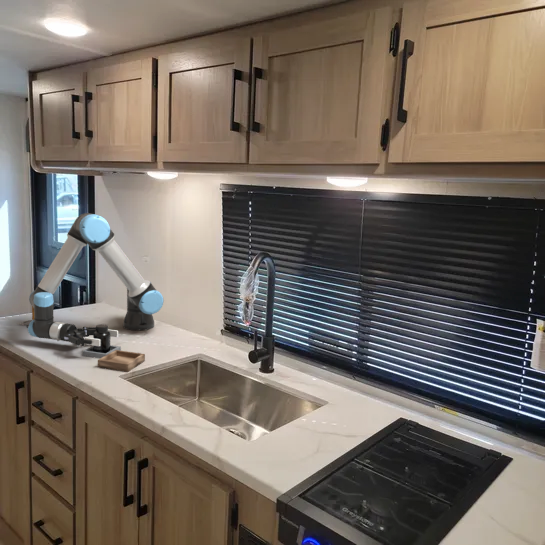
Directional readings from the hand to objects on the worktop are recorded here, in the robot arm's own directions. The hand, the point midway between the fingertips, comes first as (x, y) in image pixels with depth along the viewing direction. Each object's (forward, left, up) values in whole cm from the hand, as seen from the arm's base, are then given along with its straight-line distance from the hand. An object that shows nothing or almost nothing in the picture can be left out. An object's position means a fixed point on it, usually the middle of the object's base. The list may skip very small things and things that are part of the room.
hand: (109, 338), depth 203 cm
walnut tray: (+8, +11, -7) cm, 15 cm away
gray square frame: (0, -3, -7) cm, 8 cm away
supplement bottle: (0, -3, -7) cm, 8 cm away
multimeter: (-22, -58, -7) cm, 62 cm away
